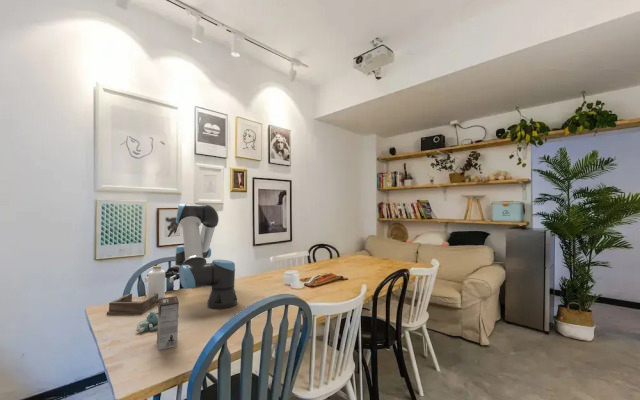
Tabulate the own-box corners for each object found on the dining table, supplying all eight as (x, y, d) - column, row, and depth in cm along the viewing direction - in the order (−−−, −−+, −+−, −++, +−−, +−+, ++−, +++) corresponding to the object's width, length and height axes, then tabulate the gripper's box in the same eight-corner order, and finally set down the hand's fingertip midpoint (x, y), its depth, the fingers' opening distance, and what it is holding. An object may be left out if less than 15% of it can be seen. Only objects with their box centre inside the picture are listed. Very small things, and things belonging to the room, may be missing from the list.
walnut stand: (127, 303, 150) (128, 293, 150) (158, 303, 151) (159, 293, 151) (106, 314, 134) (107, 303, 134) (141, 314, 135) (142, 303, 135)
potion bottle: (156, 301, 153) (158, 268, 153) (143, 300, 154) (144, 267, 155) (167, 297, 161) (169, 265, 162) (155, 296, 163) (156, 264, 163)
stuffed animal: (126, 320, 114) (149, 304, 126) (128, 336, 115) (151, 319, 127) (148, 322, 112) (170, 307, 123) (150, 339, 113) (172, 322, 124)
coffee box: (156, 340, 108) (158, 298, 109) (175, 336, 112) (176, 295, 112) (157, 350, 100) (159, 304, 101) (177, 346, 104) (179, 302, 104)
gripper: (194, 278, 182) (180, 286, 161) (154, 277, 181) (134, 286, 159) (194, 266, 182) (180, 273, 161) (155, 266, 181) (135, 273, 160)
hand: (157, 280), depth 160 cm, fingers open, 13 cm apart
